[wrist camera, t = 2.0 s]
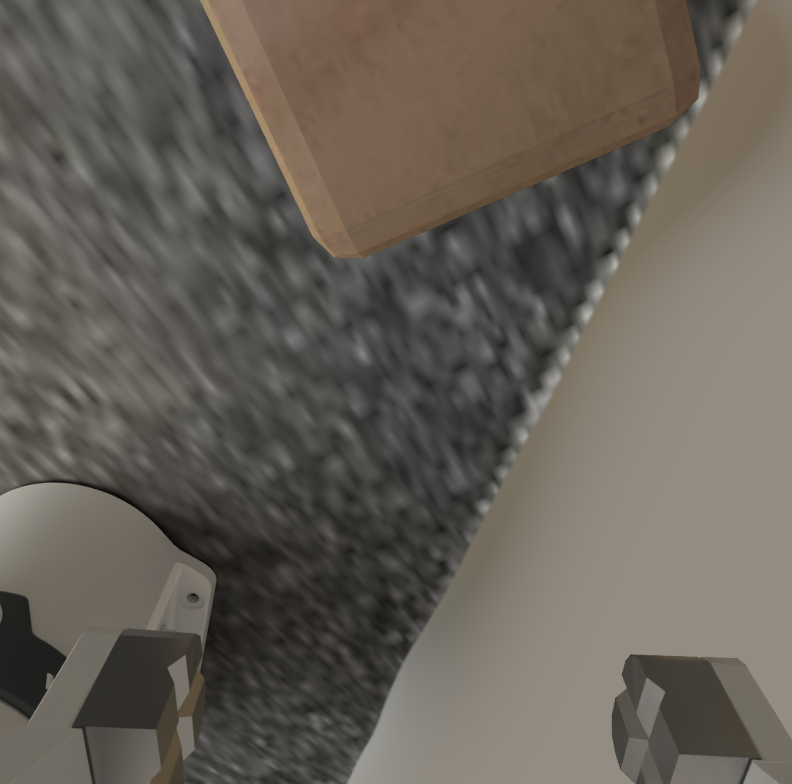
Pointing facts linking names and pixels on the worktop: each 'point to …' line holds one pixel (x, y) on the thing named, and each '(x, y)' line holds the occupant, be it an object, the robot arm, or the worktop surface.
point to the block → (447, 99)
